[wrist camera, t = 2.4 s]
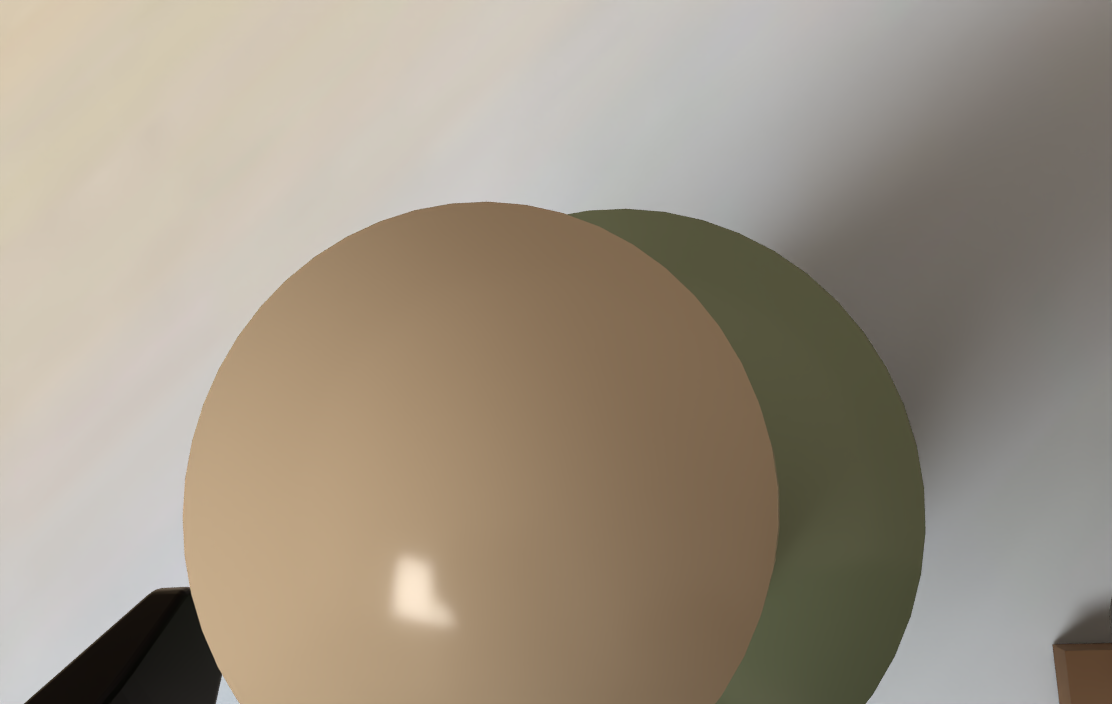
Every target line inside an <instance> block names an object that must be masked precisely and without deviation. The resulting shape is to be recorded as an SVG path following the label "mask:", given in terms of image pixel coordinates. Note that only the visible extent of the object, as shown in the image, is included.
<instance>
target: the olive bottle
mask: <svg viewBox="0 0 1112 704" xmlns="http://www.w3.org/2000/svg"><path fill="white" fill-rule="evenodd" d="M183 531H184V551H185V560H186V566H187V572H188V578H189V584H190V590H191V595H192V598H193V601H194V605H195V608H196V612H197V615H198V618H199V622H200V625H201V629H202V632H203V634H204V636H205V638H206V641H207V643H208V645H209V648H210V650H211V652H212V655H213V657H214V659H215V662H216V664H217V666H218V668H219V670H220V671H221V673H222V675H223V676H224V678H225V680H226V682H227V683H228V685H229V687H230V688H231V690H232V692H233V693H234V695H235V697H236V699H237V700H238V702H239V703H240V704H866V702H867V701H868V700H869V699H870V697H871V696H872V695H873V693H874V691H875V690H876V688H877V686H878V685H879V683H880V681H881V679H882V678H883V676H884V674H885V672H886V671H887V669H888V667H889V665H890V664H891V662H892V660H893V658H894V657H895V654H896V652H897V649H898V647H899V644H900V642H901V639H902V637H903V634H904V632H905V629H906V627H907V624H908V622H909V619H910V617H911V613H912V609H913V605H914V601H915V596H916V592H917V588H918V584H919V580H920V576H921V569H922V559H923V550H924V540H925V504H924V486H923V480H922V474H921V468H920V462H919V456H918V450H917V445H916V442H915V439H914V436H913V433H912V429H911V426H910V423H909V420H908V417H907V413H906V410H905V407H904V404H903V402H902V400H901V398H900V396H899V394H898V392H897V389H896V387H895V385H894V383H893V381H892V379H891V377H890V374H889V372H888V370H887V368H886V366H885V365H884V363H883V362H882V360H881V359H880V357H879V355H878V354H877V352H876V351H875V349H874V348H873V346H872V345H871V343H870V341H869V340H868V338H867V337H866V335H865V334H864V332H863V331H862V330H861V329H860V327H859V326H858V325H857V324H856V323H855V322H854V320H853V319H852V318H851V317H850V316H849V314H848V313H847V312H846V311H845V310H844V309H843V307H842V306H841V305H840V304H839V303H838V302H837V301H836V300H835V299H834V298H833V297H832V296H831V295H830V294H829V293H828V292H827V291H825V290H824V289H823V288H822V287H821V286H820V285H819V284H818V283H817V282H815V281H814V280H813V279H812V278H811V277H810V276H809V275H808V274H806V273H805V272H804V271H802V270H801V269H799V268H798V267H796V266H795V265H793V264H792V263H791V262H789V261H788V260H786V259H785V258H783V257H782V256H780V255H779V254H777V253H776V252H775V251H773V250H771V249H769V248H767V247H765V246H763V245H761V244H759V243H757V242H755V241H753V240H751V239H749V238H747V237H745V236H743V235H741V234H740V233H737V232H734V231H731V230H728V229H726V228H723V227H720V226H717V225H714V224H712V223H709V222H706V221H703V220H699V219H695V218H690V217H685V216H681V215H676V214H671V213H667V212H658V211H646V210H634V209H614V210H592V211H584V212H579V213H573V214H564V213H560V212H555V211H551V210H546V209H542V208H537V207H533V206H528V205H520V204H508V203H497V202H475V203H454V204H447V205H441V206H436V207H430V208H425V209H419V210H414V211H411V212H408V213H405V214H402V215H399V216H395V217H392V218H389V219H386V220H383V221H380V222H378V223H376V224H373V225H371V226H369V227H367V228H365V229H363V230H361V231H358V232H356V233H354V234H352V235H350V236H348V237H346V238H344V239H343V240H341V241H339V242H338V243H336V244H335V245H333V246H331V247H330V248H328V249H327V250H325V251H323V252H322V253H320V254H319V255H317V256H315V257H314V258H313V259H312V260H310V261H309V262H308V263H307V264H306V265H304V266H303V267H302V268H301V269H299V270H298V271H297V272H296V273H294V274H293V275H292V276H291V277H290V278H288V279H287V280H286V281H285V282H284V283H283V284H282V285H281V286H280V287H279V288H278V289H277V290H276V291H275V292H274V293H273V294H272V296H271V297H270V298H269V299H268V300H267V301H266V302H265V303H264V304H263V305H262V306H261V307H260V308H259V310H258V311H257V312H256V314H255V315H254V316H253V317H252V319H251V320H250V321H249V323H248V324H247V325H246V327H245V328H244V329H243V331H242V332H241V333H240V335H239V336H238V337H237V339H236V341H235V343H234V344H233V346H232V348H231V349H230V351H229V353H228V354H227V356H226V358H225V360H224V361H223V363H222V365H221V366H220V368H219V370H218V372H217V375H216V377H215V379H214V381H213V384H212V386H211V388H210V390H209V393H208V395H207V397H206V400H205V402H204V404H203V407H202V411H201V414H200V417H199V420H198V424H197V427H196V430H195V433H194V437H193V440H192V445H191V450H190V456H189V461H188V467H187V472H186V477H185V491H184V506H183Z"/></svg>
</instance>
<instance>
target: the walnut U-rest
mask: <svg viewBox="0 0 1112 704" xmlns="http://www.w3.org/2000/svg"><path fill="white" fill-rule="evenodd" d="M1053 653H1054V661H1055V670H1056V678H1057V686H1058V695H1059V703H1060V704H1112V643H1092V644H1053Z"/></svg>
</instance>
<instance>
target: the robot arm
mask: <svg viewBox="0 0 1112 704" xmlns="http://www.w3.org/2000/svg"><path fill="white" fill-rule="evenodd" d="M1110 625H1111V631H1112V599H1111V605H1110ZM221 677H222V673H221V671H220V670H219V668H218V666H217V664H216V662H215V659H214V657H213V655H212V652H211V650H210V648H209V645H208V643H207V641H206V638H205V636H204V634H203V632H202V629H201V625H200V622H199V618H198V615H197V612H196V608H195V605H194V601H193V598H192V595H191V590H190V587H174V588H160V589H157V590H155V591H153V592H151V593H150V594H149V595H147V596H146V597H145V598H144V599H143V600H142V601H140V602H139V603H138V604H137V605H136V606H135V607H134V608H132V609H131V610H130V611H129V612H128V613H127V614H126V615H125V616H123V617H122V618H121V619H120V620H119V621H118V622H117V623H115V624H114V625H113V626H112V627H111V628H110V629H109V630H107V631H106V632H105V633H104V634H103V635H102V636H101V637H99V638H98V639H97V640H96V641H95V642H94V643H93V644H91V645H90V646H89V647H88V648H87V649H86V650H85V651H83V652H82V653H81V654H80V655H79V656H78V657H77V658H76V659H74V660H73V661H72V662H71V663H70V664H69V665H68V666H66V667H65V668H64V669H63V670H62V671H61V672H60V673H58V674H57V675H56V676H55V677H54V678H53V679H52V680H50V681H49V682H48V683H47V684H46V685H45V686H44V687H42V688H41V689H40V690H39V691H38V692H37V693H36V694H34V695H33V696H32V697H31V698H30V699H29V700H28V701H27V702H25V703H24V704H216V700H217V696H218V691H219V686H220V682H221Z"/></svg>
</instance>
